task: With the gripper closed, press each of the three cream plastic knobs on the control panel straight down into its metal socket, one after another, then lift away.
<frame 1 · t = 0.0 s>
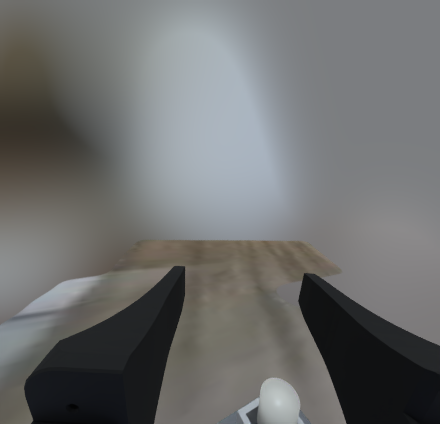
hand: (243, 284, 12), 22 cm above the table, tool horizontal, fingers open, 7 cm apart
knob 2: (277, 410, 20), point 6 cm above the table, slide at 0.0 cm
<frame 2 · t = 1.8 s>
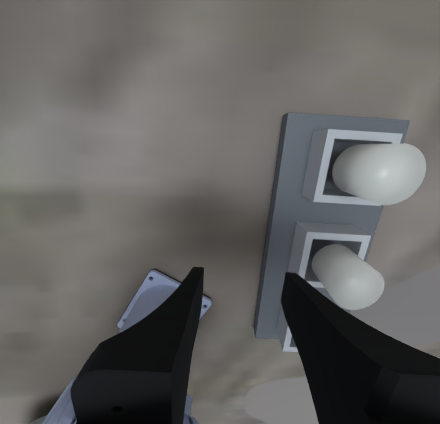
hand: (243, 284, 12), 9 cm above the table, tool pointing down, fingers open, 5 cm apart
cereal bowl: (87, 423, 32), on the table
knob 2: (372, 172, 14), point 6 cm above the table, slide at 0.0 cm
control panel: (312, 241, 22), on the table
knob mid: (344, 274, 16), point 6 cm above the table, slide at 0.0 cm
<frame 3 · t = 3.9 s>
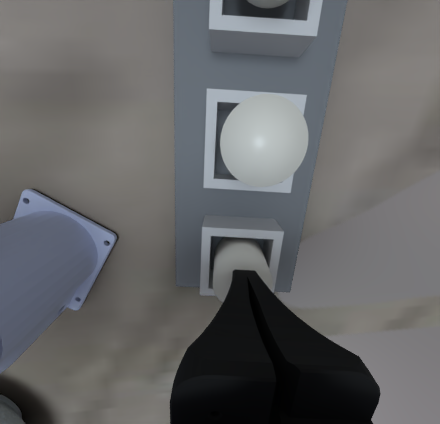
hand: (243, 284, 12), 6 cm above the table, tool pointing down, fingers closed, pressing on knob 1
control panel: (244, 145, 16), on the table
knob mid: (256, 144, 10), point 6 cm above the table, slide at 0.0 cm
knob 1: (240, 268, 14), point 4 cm above the table, slide at 1.5 cm, touching gripper
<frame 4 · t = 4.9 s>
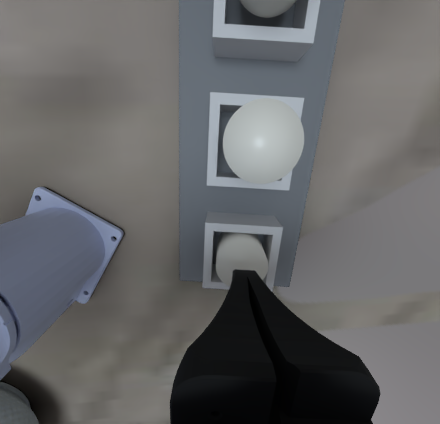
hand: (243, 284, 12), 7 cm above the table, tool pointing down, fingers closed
cereal bowl: (1, 398, 27), on the table
control panel: (245, 145, 16), on the table
knob mid: (257, 144, 11), point 6 cm above the table, slide at 0.0 cm
knob 1: (240, 254, 16), point 3 cm above the table, slide at 2.6 cm, touching control panel
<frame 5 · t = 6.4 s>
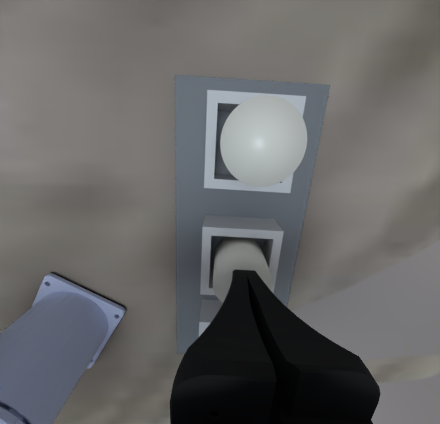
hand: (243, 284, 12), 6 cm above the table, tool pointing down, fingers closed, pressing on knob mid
knob 2: (256, 144, 10), point 6 cm above the table, slide at 0.0 cm
control panel: (235, 239, 18), on the table
knob mid: (240, 268, 14), point 4 cm above the table, slide at 1.4 cm, touching gripper
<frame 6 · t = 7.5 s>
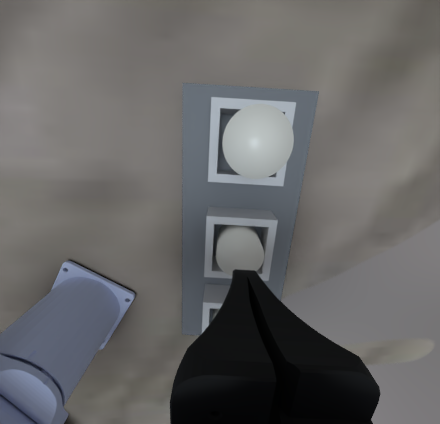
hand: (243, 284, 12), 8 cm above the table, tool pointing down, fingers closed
knob 2: (253, 143, 12), point 6 cm above the table, slide at 0.0 cm
control panel: (236, 230, 20), on the table
knob mid: (238, 245, 17), point 3 cm above the table, slide at 2.6 cm, touching control panel
knob 1: (231, 321, 19), point 3 cm above the table, slide at 2.6 cm, touching control panel
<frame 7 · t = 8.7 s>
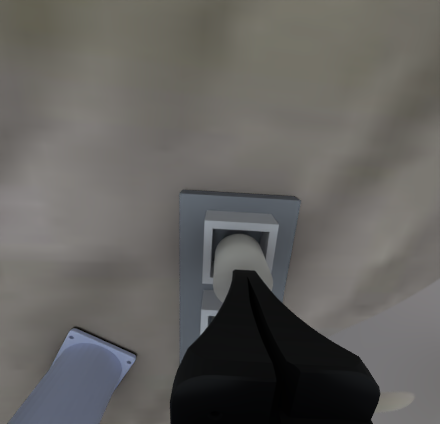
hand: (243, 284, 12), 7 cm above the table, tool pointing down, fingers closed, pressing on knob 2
knob 2: (240, 268, 14), point 6 cm above the table, slide at 0.1 cm, touching gripper
control panel: (229, 302, 22), on the table
knob mid: (230, 328, 19), point 3 cm above the table, slide at 2.6 cm, touching control panel
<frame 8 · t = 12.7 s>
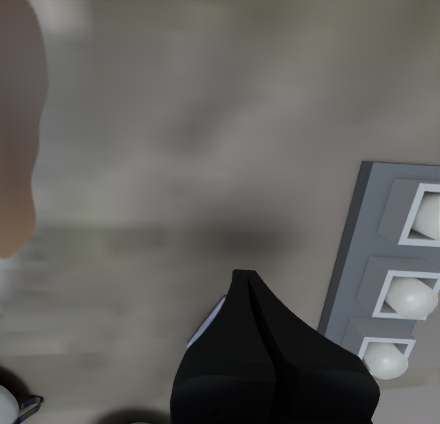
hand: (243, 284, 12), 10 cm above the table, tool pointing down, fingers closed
knob 2: (431, 214, 18), point 3 cm above the table, slide at 2.6 cm, touching control panel
control panel: (377, 271, 23), on the table
knob mid: (401, 290, 20), point 3 cm above the table, slide at 2.6 cm, touching control panel
knob 1: (377, 350, 23), point 3 cm above the table, slide at 2.6 cm, touching control panel
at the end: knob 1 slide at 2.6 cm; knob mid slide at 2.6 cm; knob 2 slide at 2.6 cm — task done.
